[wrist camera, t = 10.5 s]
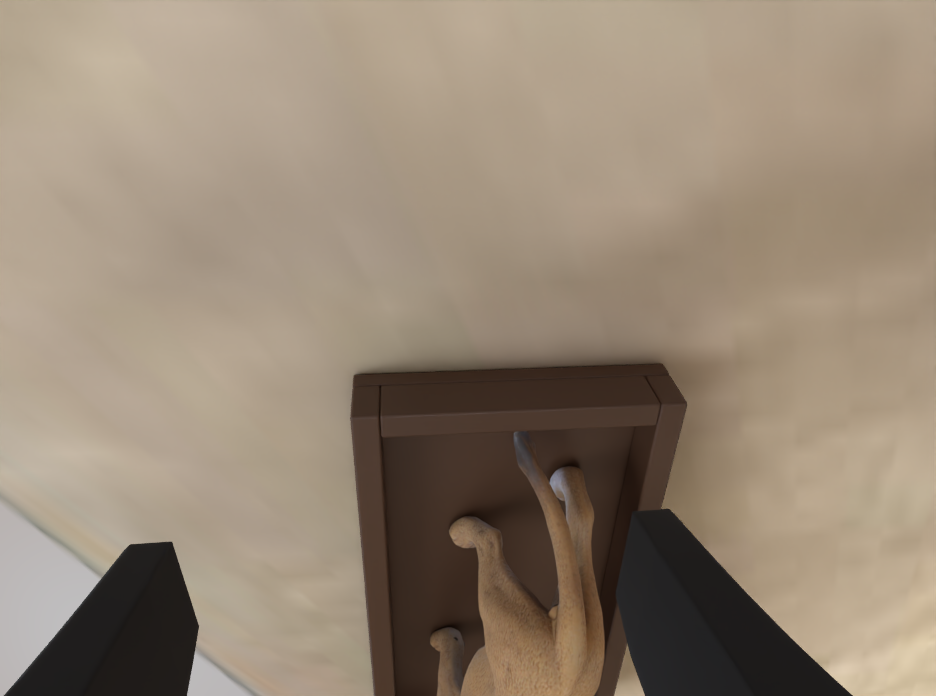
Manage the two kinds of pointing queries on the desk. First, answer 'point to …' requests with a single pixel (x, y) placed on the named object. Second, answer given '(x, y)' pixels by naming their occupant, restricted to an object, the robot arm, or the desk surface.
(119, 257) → the desk surface
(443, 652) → the lion figurine
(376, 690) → the brown rectangular tray
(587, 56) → the desk surface
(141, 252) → the desk surface
